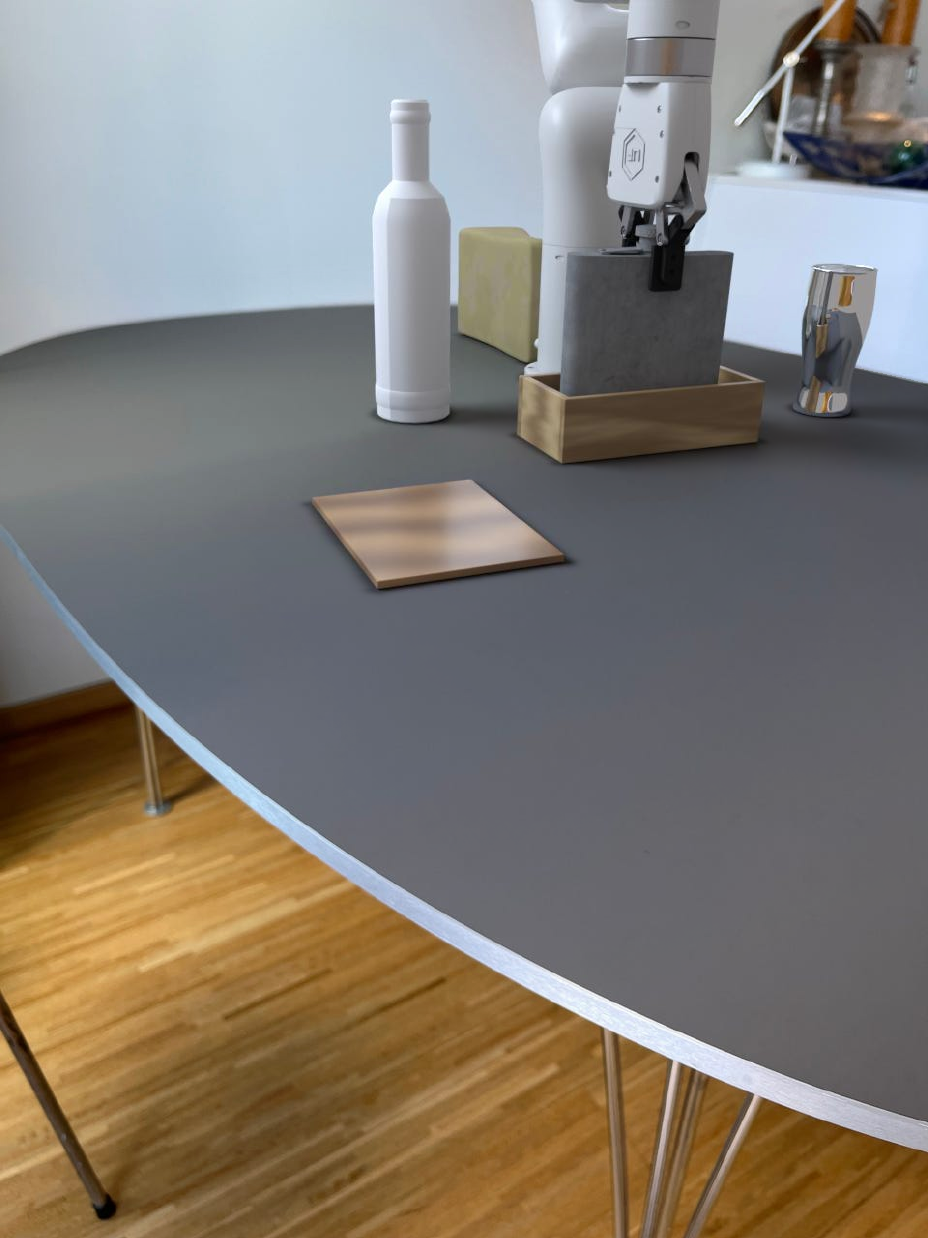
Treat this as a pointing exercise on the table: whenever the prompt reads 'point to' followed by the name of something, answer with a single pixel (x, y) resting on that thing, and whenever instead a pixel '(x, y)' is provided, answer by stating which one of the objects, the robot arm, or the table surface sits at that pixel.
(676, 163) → the robot arm
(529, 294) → the cheese
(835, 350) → the beer glass
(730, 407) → the box
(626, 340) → the hip flask
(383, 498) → the wooden mat
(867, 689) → the table surface
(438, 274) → the bottle
